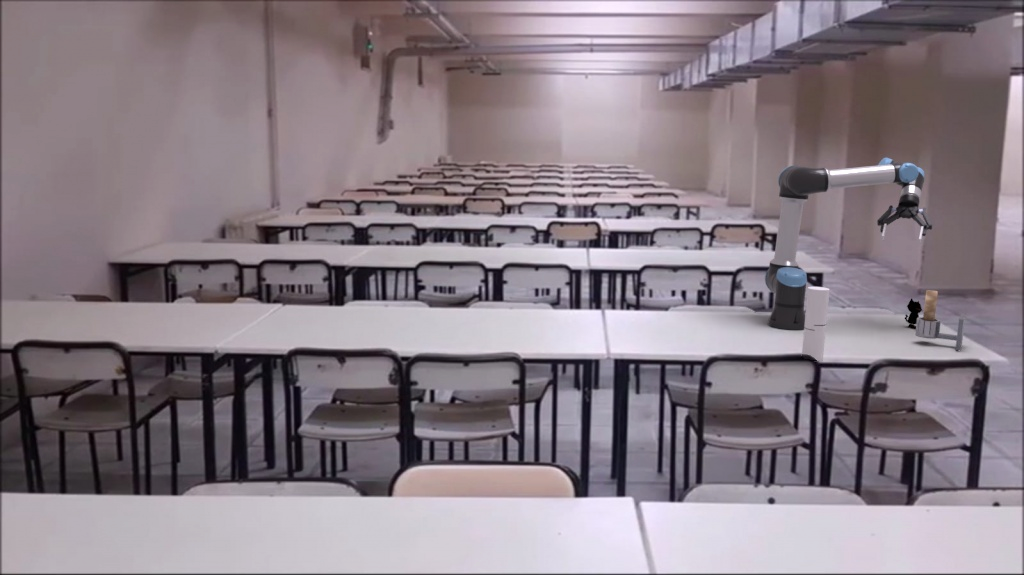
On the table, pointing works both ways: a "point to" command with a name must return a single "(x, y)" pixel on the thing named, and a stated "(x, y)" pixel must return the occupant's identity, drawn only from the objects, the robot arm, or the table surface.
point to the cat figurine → (913, 313)
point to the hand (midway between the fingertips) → (901, 239)
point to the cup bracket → (933, 330)
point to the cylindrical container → (815, 322)
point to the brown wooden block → (930, 305)
